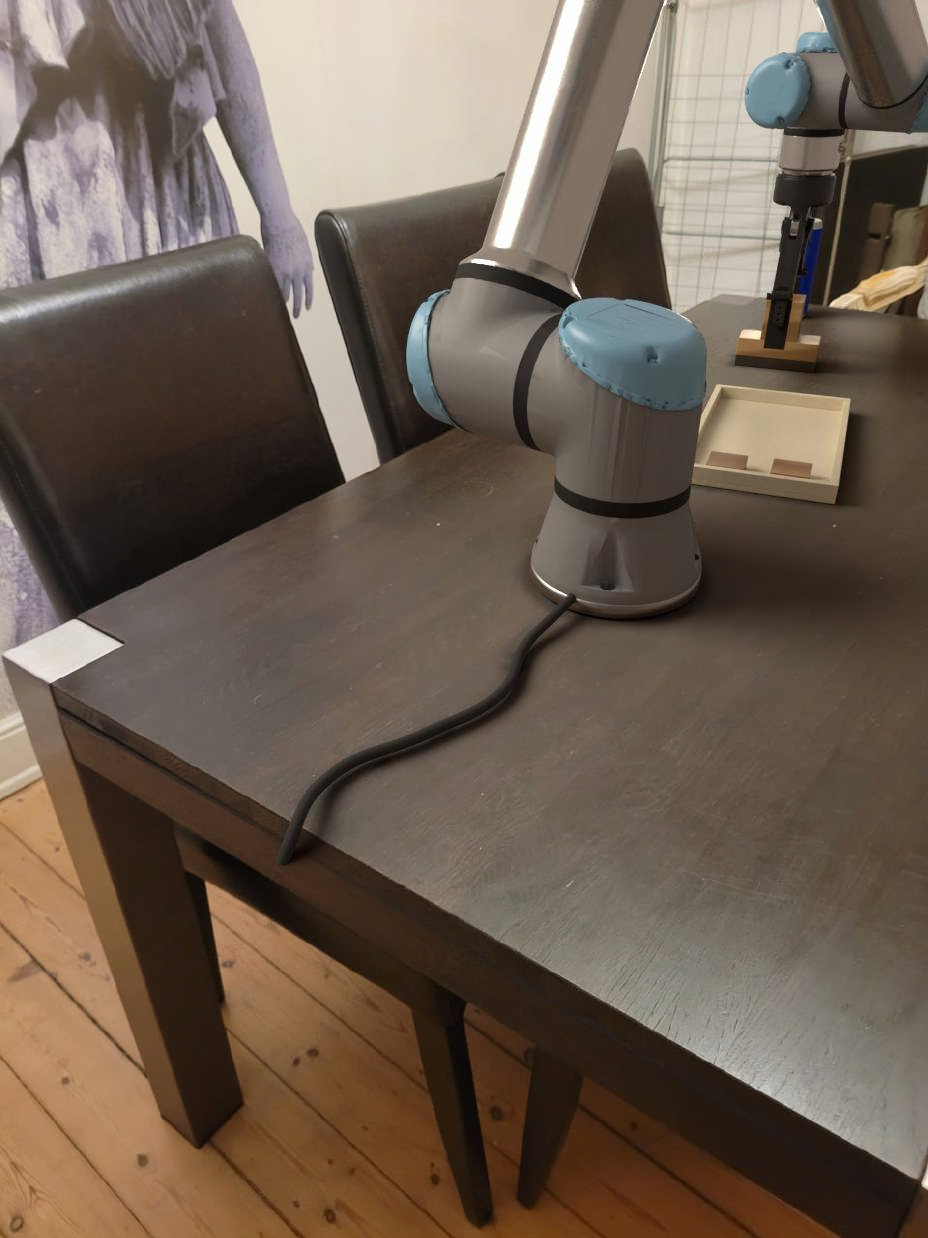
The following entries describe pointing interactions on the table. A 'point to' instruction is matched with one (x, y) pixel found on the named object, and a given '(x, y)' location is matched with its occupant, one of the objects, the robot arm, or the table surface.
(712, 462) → the chip
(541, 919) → the table surface
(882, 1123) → the table surface
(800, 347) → the brush
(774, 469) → the chip
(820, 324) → the table surface
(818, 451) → the tray
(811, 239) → the beverage can
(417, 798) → the table surface
